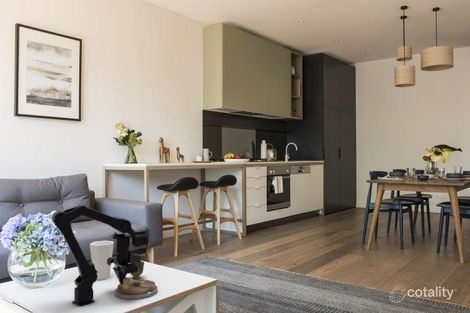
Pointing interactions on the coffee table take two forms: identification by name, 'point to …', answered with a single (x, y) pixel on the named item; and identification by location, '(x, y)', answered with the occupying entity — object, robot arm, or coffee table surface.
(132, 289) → the handwheel
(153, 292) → the wheel base
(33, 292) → the coffee table surface
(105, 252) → the cup
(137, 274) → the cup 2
